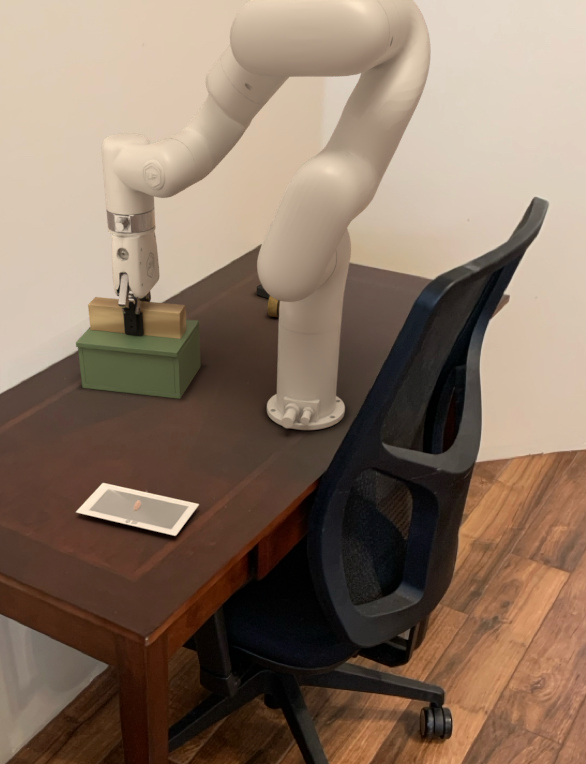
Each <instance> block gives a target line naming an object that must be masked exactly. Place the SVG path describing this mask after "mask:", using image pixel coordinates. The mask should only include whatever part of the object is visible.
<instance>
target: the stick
mask: <svg viewBox="0 0 586 764" xmlns="http://www.w3.org/2000/svg"><path fill="white" fill-rule="evenodd" d="M129 300H130V301H132V302H133V303H134V304H135V301H134V299H129ZM118 302H119V298H111V297H100V296H95V297H93V298H92V300H91V301H90V302H89V303H88V304H87V309H88V318H89V319H88V320H89V327H90V329H91V330H97V331H107V332H117V333H125V329H124V316H123V312H122V307H120V306H119V304H118ZM140 312H143V328H144V334H143V335H148V336H158V337H168V338H178V339H181V337H182V336H183V335H184V333H185V332H186V319H187V309H186V304H177V303H166V302H155V301H150V302H146V301H140Z"/></svg>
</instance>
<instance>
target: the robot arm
mask: <svg viewBox="0 0 586 764" xmlns="http://www.w3.org/2000/svg"><path fill="white" fill-rule="evenodd" d="M430 65H431V38H430V33H429V29H428V25H427V23H426V20H425V18H424V15H423V13H422V11H421V9H420V7H419V6H418V5H417V3H416V2H415V0H248V1H246V2H245V3H244V4H243V5H242V6H241V7H240V8H239V10H238V11H237V13H236V14H235V16H234V18H233V21H232V23H231V26H230V31H229V45H228V46H227V47H226V48H225V50H224V51H223V52H222V54H221V55H220V56H219V57H218V59H217V60H215V62H214V63H213V65H212V66H211V67H210V68H209V70H208V71H207V73H206V75H205V87H206V91H207V94H208V95H207V97H206V99H205V100H204V102H203V104H201V106H200V108H199V109H197V111H196V113H195V114H194V115H193V116H192V118H191V119H190V120H189V121H188V122H187V123H186V125H185V126H184V127H183V128H182V129H181V130H180V131H178V132H177V133H174V134H172V135H170V136H168V137H166V138H163V139H161V140H158V141H155V142H152V143H151V142H150V140H149V138H148V137H147V136H146V135H143V134H140V133H136V132H119V133H113V134H110V135H108V136H106V137H105V138H104V139H103V141H102V143H101V148H100V149H101V162H102V174H103V185H104V197H105V199H104V200H105V210H106V211H105V213H106V223H107V232H108V233H109V234H110V235H111V271H112V283H113V284H112V285H113V290H114V291H113V292H114V294H115V295H116V296H117V297H118V299H119V302H118V304H119V306H120V307H122V312H123V316H124V329H125V334H126V335H134V336H143V334H144V328H143V312H140V301H146V302H152V301H151V300H152V295H151V294H152V293H151V290H152V289H153V288H154V287H155V286H156V284H157V283H158V282H159V280H160V264H159V252H158V244H157V237H156V211H155V210H156V209H155V198H158V199H159V198H160V199H168V198H172V197H174V196H176V195H178V194H180V193H181V192H184V191H185V190H186V189H188V188H189V187H191V186H193V185H195V184H197V183H198V182H200V181H202V180H204V179H205V178H207V177H208V176H209V175H210V174H211V173H212V172H213V171H214V170H215V168H217V166H218V165H220V163H221V162H222V161H223V160H224V159H225V157H226V156H227V155H228V154H229V153H230V152H231V151H232V150H233V149H234V148H235V146H236V145H237V144H238V142H239V141H240V140H241V138H242V137H243V135H245V133H246V131H247V129H248V128H249V127H250V125H251V124H252V121H253V120H254V118H255V117H256V116H257V115H258V114H259V112H260V111H261V110H262V109H263V107H264V106H266V105H267V103H268V102H269V101H270V100H271V98H272V97H273V96H274V95H275V94H276V93H277V92H278V91H279V89H280V88H282V86H283V85H284V84H285V83H286V81H287V80H288V79H289V78H296V77H297V78H298V77H300V78H301V77H302V78H303V77H304V78H305V77H311V78H312V77H314V78H316V77H317V78H318V77H321V78H322V77H324V78H325V77H327V78H328V77H329V78H331V77H350V76H358V75H360V76H359V79H358V81H357V83H356V85H355V86H354V88H353V89H352V91H351V93H350V94H349V95H350V96H349V97H348V98H347V100H346V103H345V105H344V107H343V110H342V112H341V115H340V117H339V119H338V121H337V124H336V126H335V128H334V130H333V132H332V134H331V136H330V138H329V139H328V141H327V143H326V145H325V146H324V148H323V149H321V151H320V152H318V153H317V154H316V155H313V156H312V157H311V158H310V159H308V160H307V161H306V162H304V163H303V164H302V165H301V166H300V167H299V168H298V169H297V170H296V171H295V173H294V174H293V175H292V177H291V179H290V180H289V182H288V183H287V186H286V188H285V190H284V192H283V194H282V197H281V199H280V202H279V203H278V206H277V208H276V211H275V213H274V215H273V218H272V220H271V222H270V224H269V226H268V229H267V232H266V234H265V236H264V238H263V241H262V243H261V246H260V249H259V252H258V254H257V261H256V269H257V270H256V271H257V276H258V280H259V282H260V285H261V284H262V286H263V288H264V289H265V291H266V292H267V293H268V294H269V295H270V296H272V297H273V298H275V299H277V300H279V301H280V306H279V317H278V326H277V327H278V330H277V332H278V333H277V365H276V367H277V369H276V371H277V372H276V393H275V394H274V395H272V396H271V397H270V398H269V399H268V401H267V402H266V414H267V416H268V417H269V418H270V420H272V421H273V422H274V423H275V424H277V425H279V426H282V427H283V428H284V429H292V430H297V431H317V430H318V431H319V430H323V429H327V428H329V427H332V426H334V425H336V424H338V423H339V422H340V421H342V420H343V418H344V416H345V413H346V405H345V403H344V401H343V399H341V398H340V397H339V396H337V386H338V373H339V359H340V347H341V346H340V344H341V331H342V321H343V311H344V310H343V309H344V308H343V307H344V299H345V291H346V285H347V278H348V274H349V269H350V263H351V255H352V241H351V236H350V232H349V229H348V227H349V225H350V224H351V223H352V222H353V220H355V219H356V218H357V217H359V215H360V214H361V213H363V212H364V211H365V210H366V209H367V208H368V206H369V205H370V204H371V202H373V199H374V198H375V196H376V194H377V192H378V189H379V187H380V184H381V182H382V180H383V177H384V175H385V173H386V172H387V170H388V167H389V165H390V163H391V161H392V159H393V158H394V155H395V153H396V152H397V149H398V147H399V146H400V143H401V141H402V138H403V136H404V134H405V132H406V130H407V128H408V126H409V124H410V122H411V120H412V117H413V116H414V113H415V112H416V109H417V107H418V105H419V102H420V101H421V97H422V96H423V93H424V89H425V88H426V87H425V86H426V84H427V81H428V76H429V71H430ZM130 292H131V293H130ZM130 300H134V301H135V304H134V303H133V302H132V301H130Z"/></svg>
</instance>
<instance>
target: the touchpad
mask: <svg viewBox="0 0 586 764" xmlns="http://www.w3.org/2000/svg"><path fill="white" fill-rule="evenodd" d="M199 506H200V504H199V503H196V502H191V501H187V500H184V499H183V500H182V499H177V498H174V497H169V496H165V495H160V494H155V493H151V492H146V491H141V490H137V489H133V488H128V487H124V486H119V485H116V484H115V485H114V484H111V483H105V482H102V483H101V484H100V485H99V486H98V487H97V488H96V489H95V490H94V491H93V493H92V494H91V495H90V496H89V497H88V498H87V499H86V500H85V501H84V502H83V504H81V506H79V508H78V509H77V510H76V511H75V513H77V514H82V515H85V516H90V517H94V518H98V519H101V520H102V519H103V520H105V521H109V522H115V523H120V524H123V525H127V526H132V527H136V528H140V529H144V530H148V531H152V532H156V533H157V532H158V533H161V534H166V535H170V536H174V537H177V535H178V534H179V533H180V531H181V530H182V528H183V527H184V525H185V524H186V523H187V522H188V520H189V519H190V518H191V517H192V515H193V514H194V513H195V511H196V510H197V509H198V507H199Z"/></svg>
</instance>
